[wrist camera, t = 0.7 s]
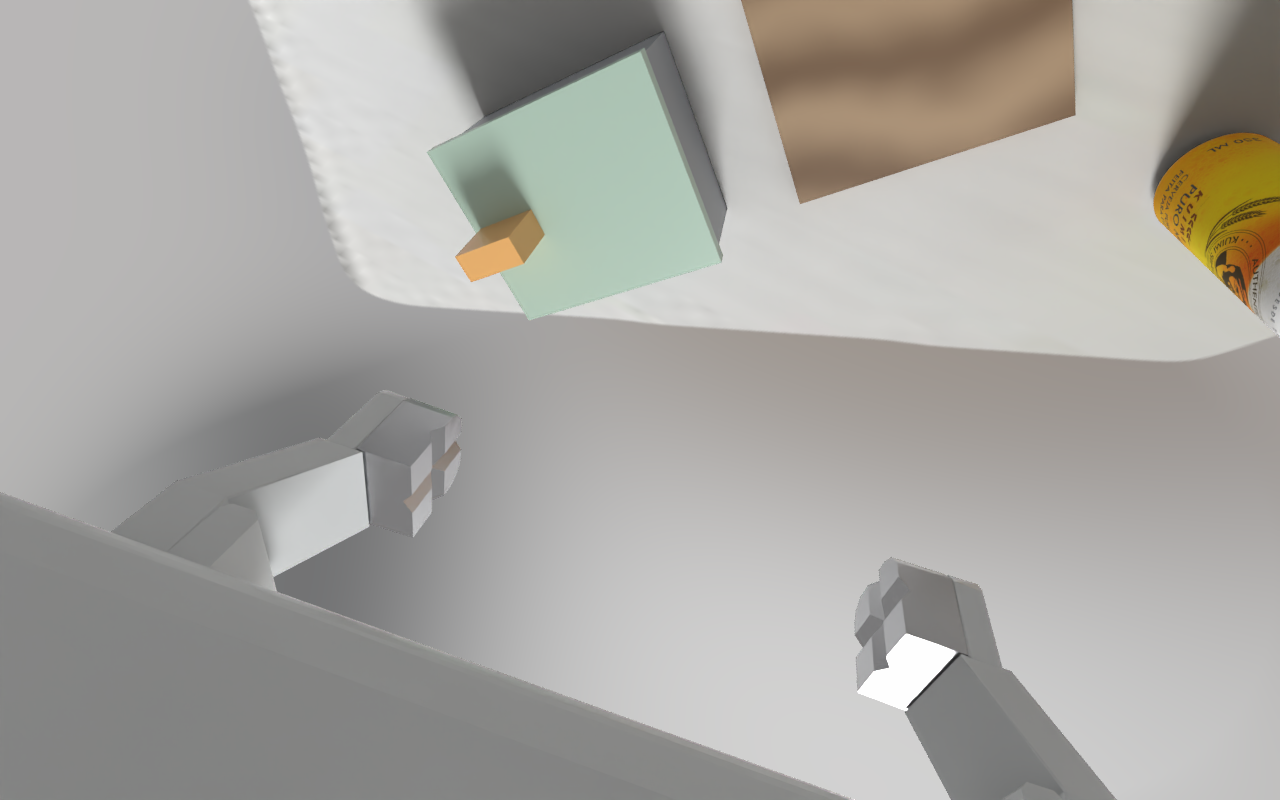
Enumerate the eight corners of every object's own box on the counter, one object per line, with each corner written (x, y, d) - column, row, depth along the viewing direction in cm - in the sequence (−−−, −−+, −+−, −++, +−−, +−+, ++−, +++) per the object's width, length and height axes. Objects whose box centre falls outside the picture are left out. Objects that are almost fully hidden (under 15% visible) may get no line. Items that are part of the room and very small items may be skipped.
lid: (442, 140, 39) (394, 175, 35) (648, 42, 34) (623, 69, 29) (538, 304, 46) (509, 352, 41) (724, 246, 40) (714, 295, 36)
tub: (483, 117, 44) (440, 149, 39) (663, 30, 38) (641, 55, 33) (563, 263, 50) (535, 308, 45) (727, 208, 45) (716, 252, 39)
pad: (735, -25, 36) (734, -23, 35) (1060, -186, 29) (1066, -187, 28) (800, 198, 43) (800, 204, 42) (1070, 110, 37) (1075, 115, 36)
